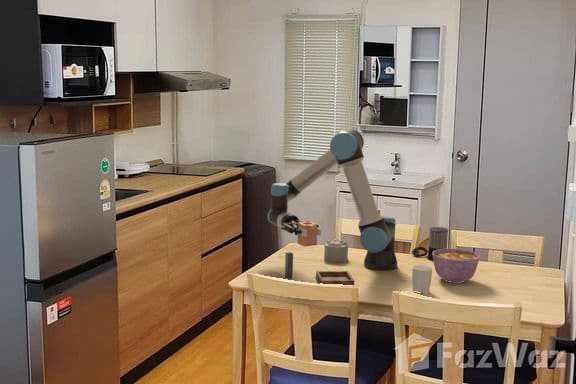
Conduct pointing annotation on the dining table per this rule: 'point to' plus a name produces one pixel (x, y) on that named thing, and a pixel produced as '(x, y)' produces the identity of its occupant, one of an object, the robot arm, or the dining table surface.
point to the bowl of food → (455, 264)
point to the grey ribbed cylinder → (434, 242)
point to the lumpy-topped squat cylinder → (336, 251)
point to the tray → (334, 277)
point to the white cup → (421, 278)
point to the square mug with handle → (308, 234)
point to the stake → (289, 265)
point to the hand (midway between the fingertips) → (313, 233)
